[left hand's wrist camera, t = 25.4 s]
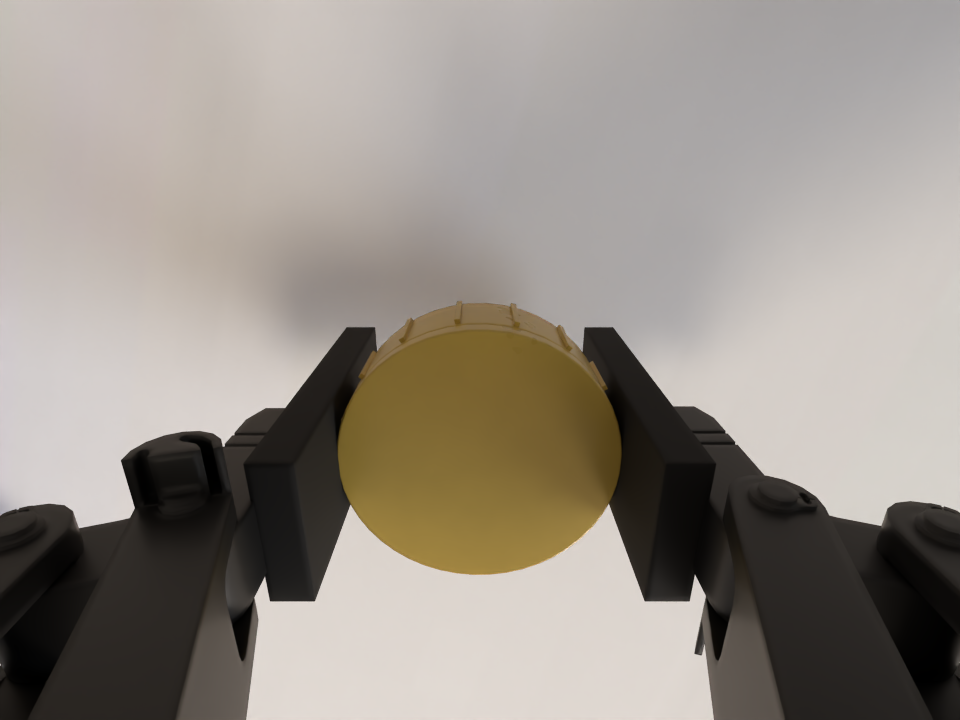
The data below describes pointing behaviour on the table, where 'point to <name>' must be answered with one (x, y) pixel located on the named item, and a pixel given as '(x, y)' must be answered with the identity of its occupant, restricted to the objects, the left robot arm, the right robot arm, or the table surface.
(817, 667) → the left robot arm
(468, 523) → the lid
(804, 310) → the table surface
